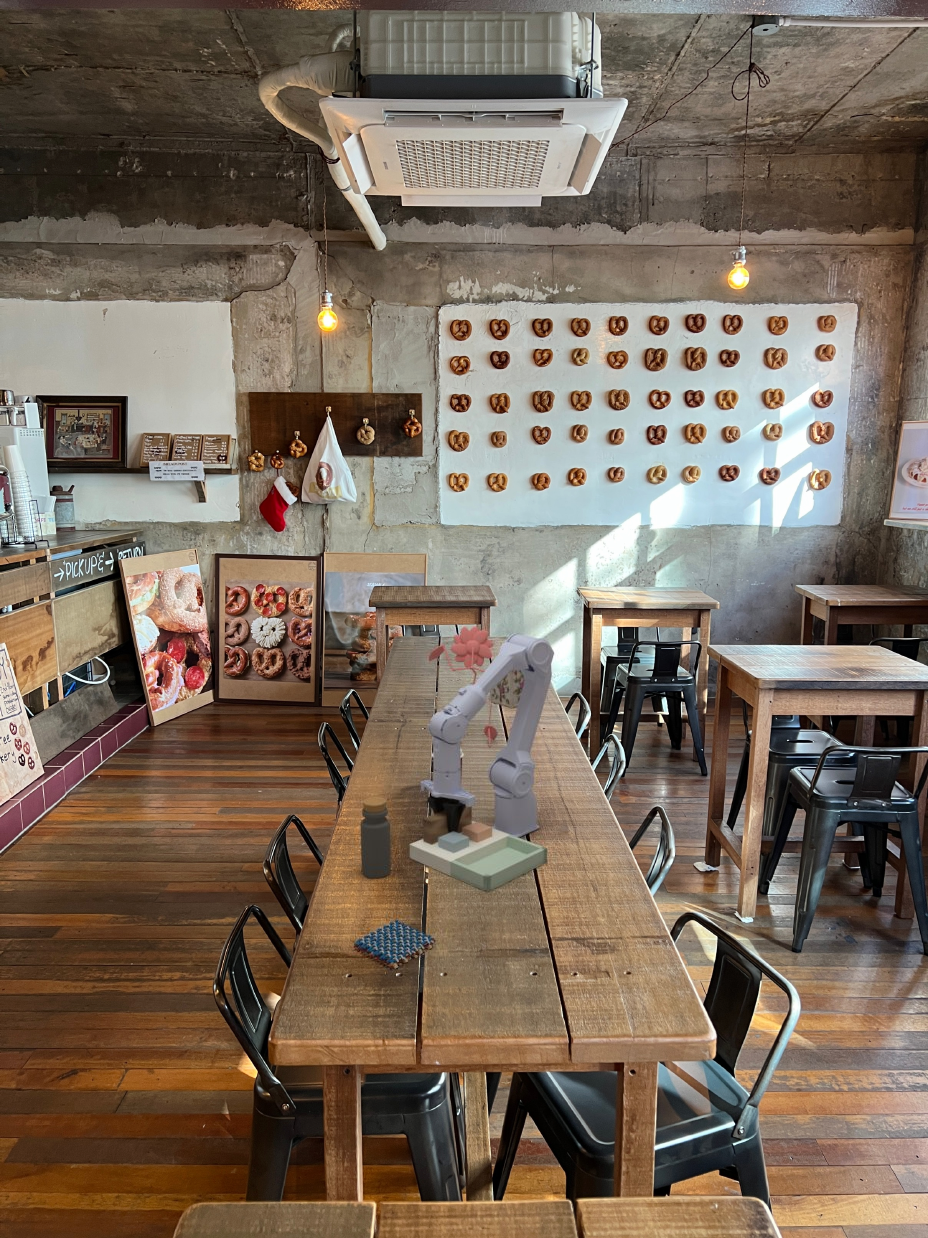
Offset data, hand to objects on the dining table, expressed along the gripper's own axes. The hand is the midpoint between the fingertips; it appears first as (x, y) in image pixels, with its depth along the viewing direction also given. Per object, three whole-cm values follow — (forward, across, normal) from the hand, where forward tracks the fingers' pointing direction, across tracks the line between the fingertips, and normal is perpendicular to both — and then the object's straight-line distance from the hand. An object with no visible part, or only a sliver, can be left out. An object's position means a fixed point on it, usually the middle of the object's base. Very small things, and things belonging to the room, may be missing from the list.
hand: (447, 830), depth 185 cm
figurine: (+4, -49, +59) cm, 77 cm away
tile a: (+1, +5, +4) cm, 6 cm away
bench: (+4, +4, 0) cm, 5 cm away
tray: (+4, +15, 0) cm, 15 cm away
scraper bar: (+1, 0, 0) cm, 1 cm away
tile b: (+1, +5, -4) cm, 6 cm away
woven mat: (+5, +22, -34) cm, 41 cm away
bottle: (+4, -2, -18) cm, 19 cm away
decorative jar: (+4, -70, +101) cm, 123 cm away
